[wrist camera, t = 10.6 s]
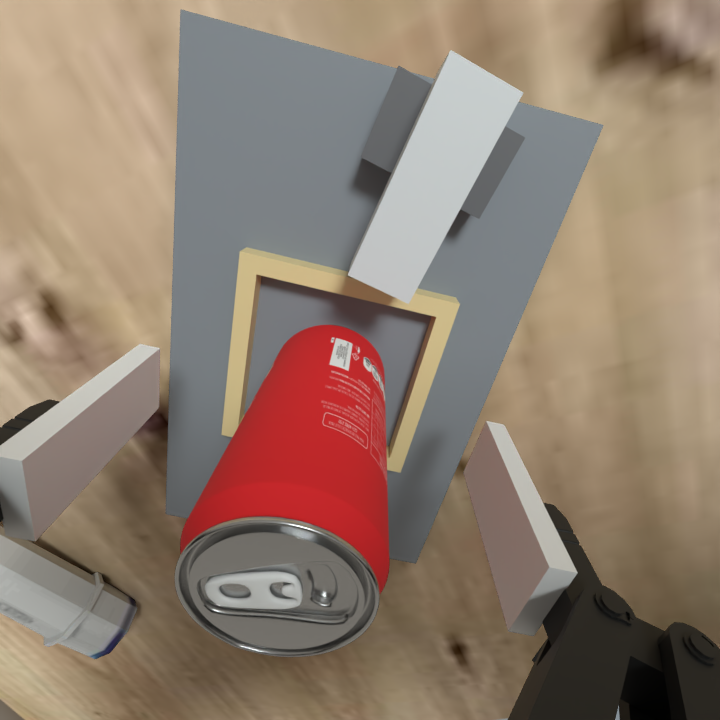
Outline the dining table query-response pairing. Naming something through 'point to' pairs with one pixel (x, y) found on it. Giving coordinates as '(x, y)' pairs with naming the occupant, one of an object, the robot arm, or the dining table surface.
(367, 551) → the beverage can
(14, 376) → the dining table surface
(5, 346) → the dining table surface
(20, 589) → the white long shaft part
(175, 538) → the dining table surface
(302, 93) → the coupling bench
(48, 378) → the dining table surface
